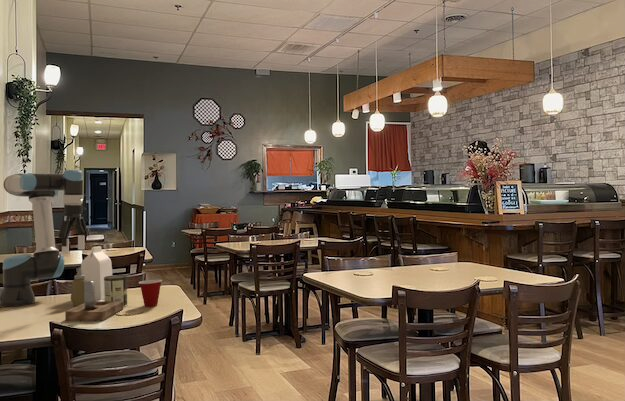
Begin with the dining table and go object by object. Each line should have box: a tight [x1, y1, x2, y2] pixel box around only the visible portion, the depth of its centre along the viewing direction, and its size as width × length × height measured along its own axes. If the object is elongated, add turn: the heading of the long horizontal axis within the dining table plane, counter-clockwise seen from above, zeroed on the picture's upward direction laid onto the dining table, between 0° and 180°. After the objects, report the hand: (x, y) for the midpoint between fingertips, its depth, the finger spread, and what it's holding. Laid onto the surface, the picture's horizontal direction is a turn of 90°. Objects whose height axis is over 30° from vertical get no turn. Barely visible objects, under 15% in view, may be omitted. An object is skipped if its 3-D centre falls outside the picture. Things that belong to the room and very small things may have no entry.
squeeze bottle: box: [70, 267, 87, 307], centre depth 243 cm, size 8×8×18 cm
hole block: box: [64, 300, 124, 322], centre depth 223 cm, size 16×20×4 cm
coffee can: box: [104, 274, 128, 308], centre depth 241 cm, size 10×10×14 cm
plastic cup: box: [138, 279, 163, 308], centre depth 242 cm, size 11×11×12 cm
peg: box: [84, 281, 96, 311], centre depth 218 cm, size 4×4×15 cm
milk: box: [80, 245, 113, 301], centre depth 262 cm, size 12×12×26 cm
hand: (73, 251), depth 229 cm, fingers open, 13 cm apart
